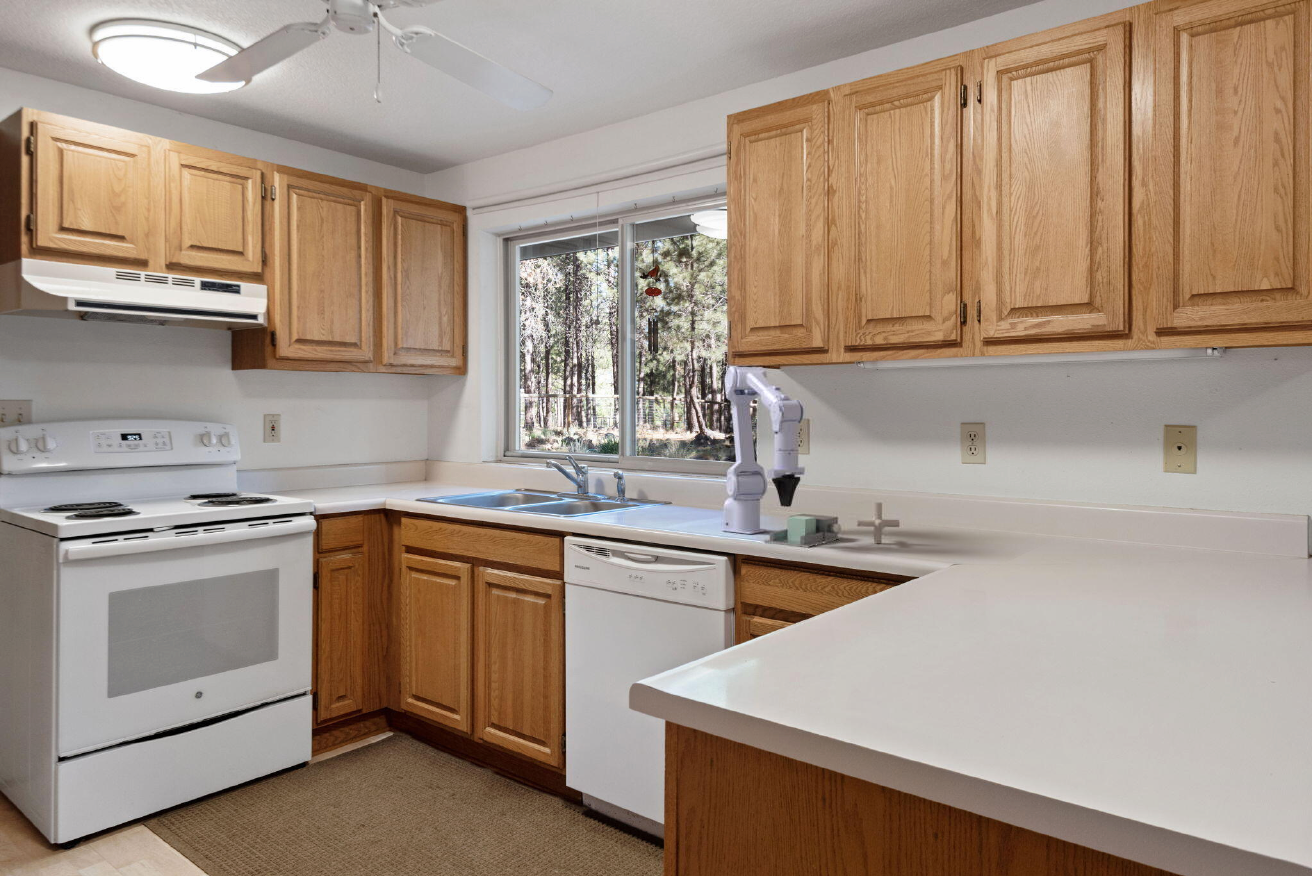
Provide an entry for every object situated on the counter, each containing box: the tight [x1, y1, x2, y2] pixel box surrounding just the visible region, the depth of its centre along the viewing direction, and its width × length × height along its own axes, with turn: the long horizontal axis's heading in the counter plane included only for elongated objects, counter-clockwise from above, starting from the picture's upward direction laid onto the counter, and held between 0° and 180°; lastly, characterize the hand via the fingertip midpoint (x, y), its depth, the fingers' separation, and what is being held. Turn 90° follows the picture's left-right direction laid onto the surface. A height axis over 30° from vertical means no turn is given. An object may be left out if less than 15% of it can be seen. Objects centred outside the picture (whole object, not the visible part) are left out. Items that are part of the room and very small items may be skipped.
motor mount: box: [763, 513, 843, 548], centre depth 207 cm, size 13×18×6 cm
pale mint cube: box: [787, 515, 816, 541], centre depth 205 cm, size 5×5×6 cm
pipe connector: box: [856, 501, 901, 544], centre depth 203 cm, size 10×10×10 cm
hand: (785, 506), depth 200 cm, fingers closed
